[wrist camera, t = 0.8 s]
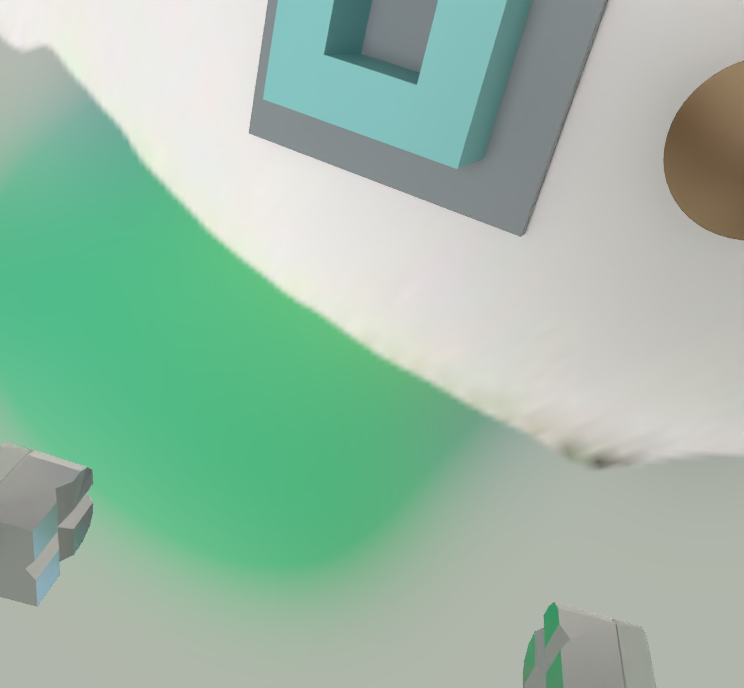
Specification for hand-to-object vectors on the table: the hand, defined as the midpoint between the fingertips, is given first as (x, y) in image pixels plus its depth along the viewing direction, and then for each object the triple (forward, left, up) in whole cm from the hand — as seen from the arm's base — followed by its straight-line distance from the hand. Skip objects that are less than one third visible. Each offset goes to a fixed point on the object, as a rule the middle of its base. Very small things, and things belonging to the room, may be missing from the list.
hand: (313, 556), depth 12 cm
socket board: (-6, -16, -38) cm, 42 cm away
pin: (-6, +5, -38) cm, 39 cm away
